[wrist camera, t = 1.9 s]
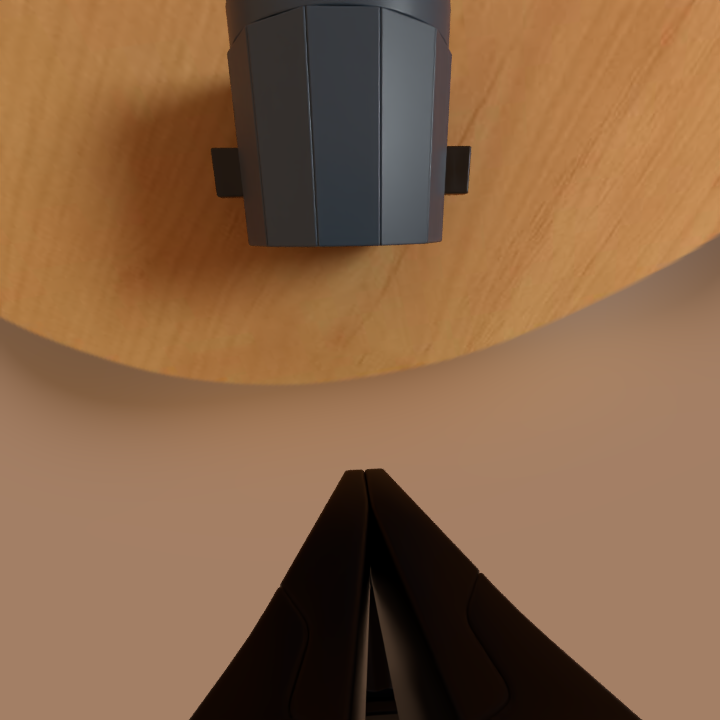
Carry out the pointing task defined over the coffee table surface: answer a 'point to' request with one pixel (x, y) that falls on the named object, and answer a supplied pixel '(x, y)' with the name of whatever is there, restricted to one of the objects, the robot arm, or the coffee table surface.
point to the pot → (340, 122)
